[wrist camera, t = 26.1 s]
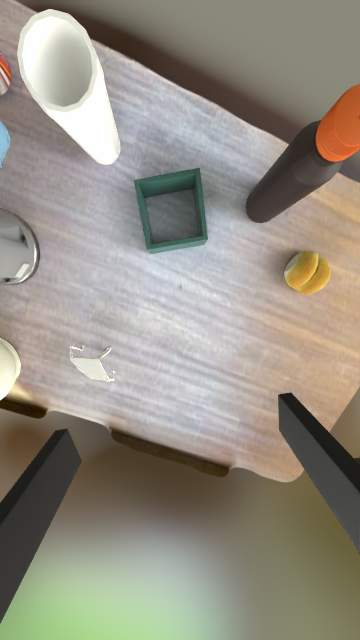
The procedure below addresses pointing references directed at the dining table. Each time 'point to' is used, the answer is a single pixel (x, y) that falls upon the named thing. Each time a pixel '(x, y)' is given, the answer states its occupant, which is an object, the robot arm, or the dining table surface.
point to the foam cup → (69, 81)
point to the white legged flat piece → (91, 365)
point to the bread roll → (307, 272)
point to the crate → (168, 185)
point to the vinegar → (309, 159)
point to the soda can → (4, 75)
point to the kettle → (8, 367)
